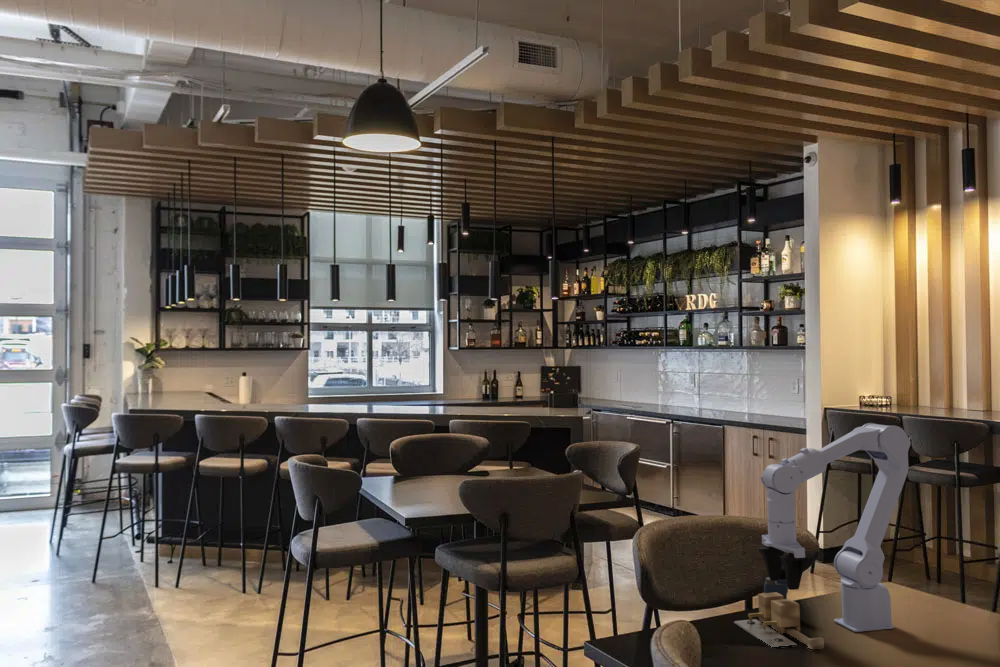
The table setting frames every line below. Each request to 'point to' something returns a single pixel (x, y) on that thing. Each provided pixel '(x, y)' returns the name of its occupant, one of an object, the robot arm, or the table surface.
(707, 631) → the table surface
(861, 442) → the robot arm
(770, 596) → the fixed leg
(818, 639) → the rail
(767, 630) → the bolt plate
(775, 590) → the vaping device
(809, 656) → the table surface
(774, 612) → the brown block with peg
